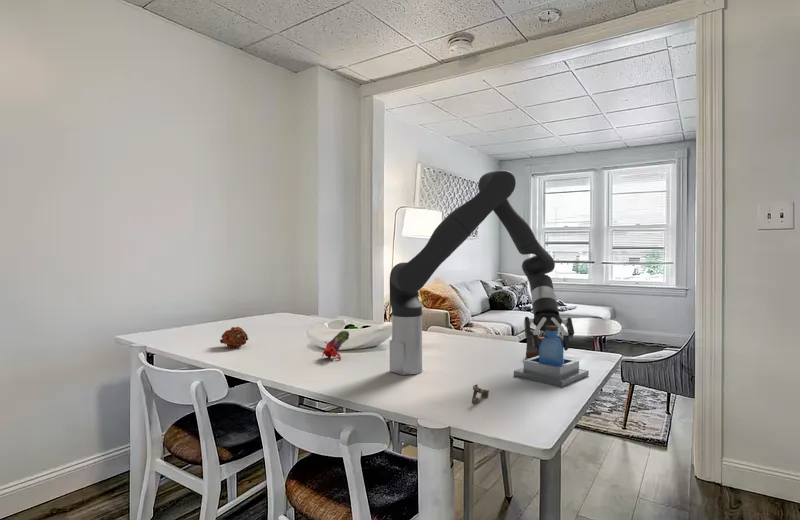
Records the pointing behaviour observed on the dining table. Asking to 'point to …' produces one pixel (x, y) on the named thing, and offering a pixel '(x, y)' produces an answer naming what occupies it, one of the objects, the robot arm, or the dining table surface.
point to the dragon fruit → (234, 337)
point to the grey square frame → (551, 372)
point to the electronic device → (532, 348)
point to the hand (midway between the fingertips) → (552, 348)
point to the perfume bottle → (551, 347)
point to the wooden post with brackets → (479, 390)
